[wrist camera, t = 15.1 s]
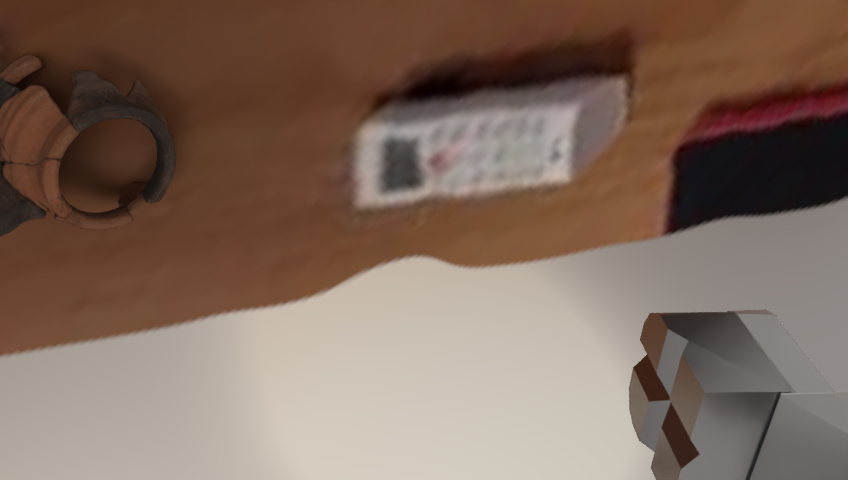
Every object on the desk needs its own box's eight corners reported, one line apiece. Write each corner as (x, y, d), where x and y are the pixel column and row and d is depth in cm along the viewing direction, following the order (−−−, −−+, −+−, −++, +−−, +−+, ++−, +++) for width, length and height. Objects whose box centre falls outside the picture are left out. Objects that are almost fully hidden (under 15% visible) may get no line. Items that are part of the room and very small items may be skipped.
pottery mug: (54, 3, 45) (118, 52, 40) (158, 111, 52) (223, 164, 47) (-117, 156, 43) (-71, 228, 38) (17, 246, 50) (69, 316, 45)
